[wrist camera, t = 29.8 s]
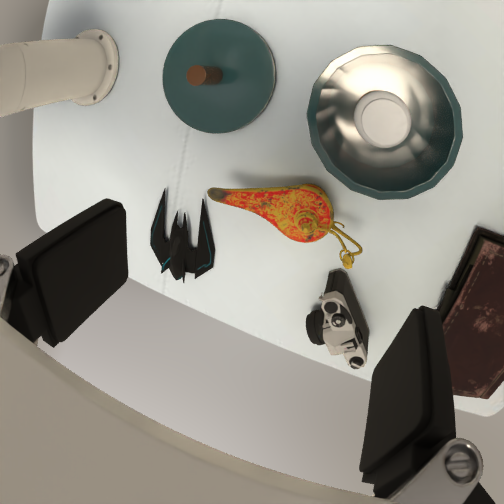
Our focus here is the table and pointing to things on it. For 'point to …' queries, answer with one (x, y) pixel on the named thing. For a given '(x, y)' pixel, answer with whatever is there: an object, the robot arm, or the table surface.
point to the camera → (340, 321)
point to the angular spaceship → (182, 245)
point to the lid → (218, 76)
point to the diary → (476, 318)
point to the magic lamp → (290, 211)
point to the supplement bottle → (382, 119)
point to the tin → (394, 158)
